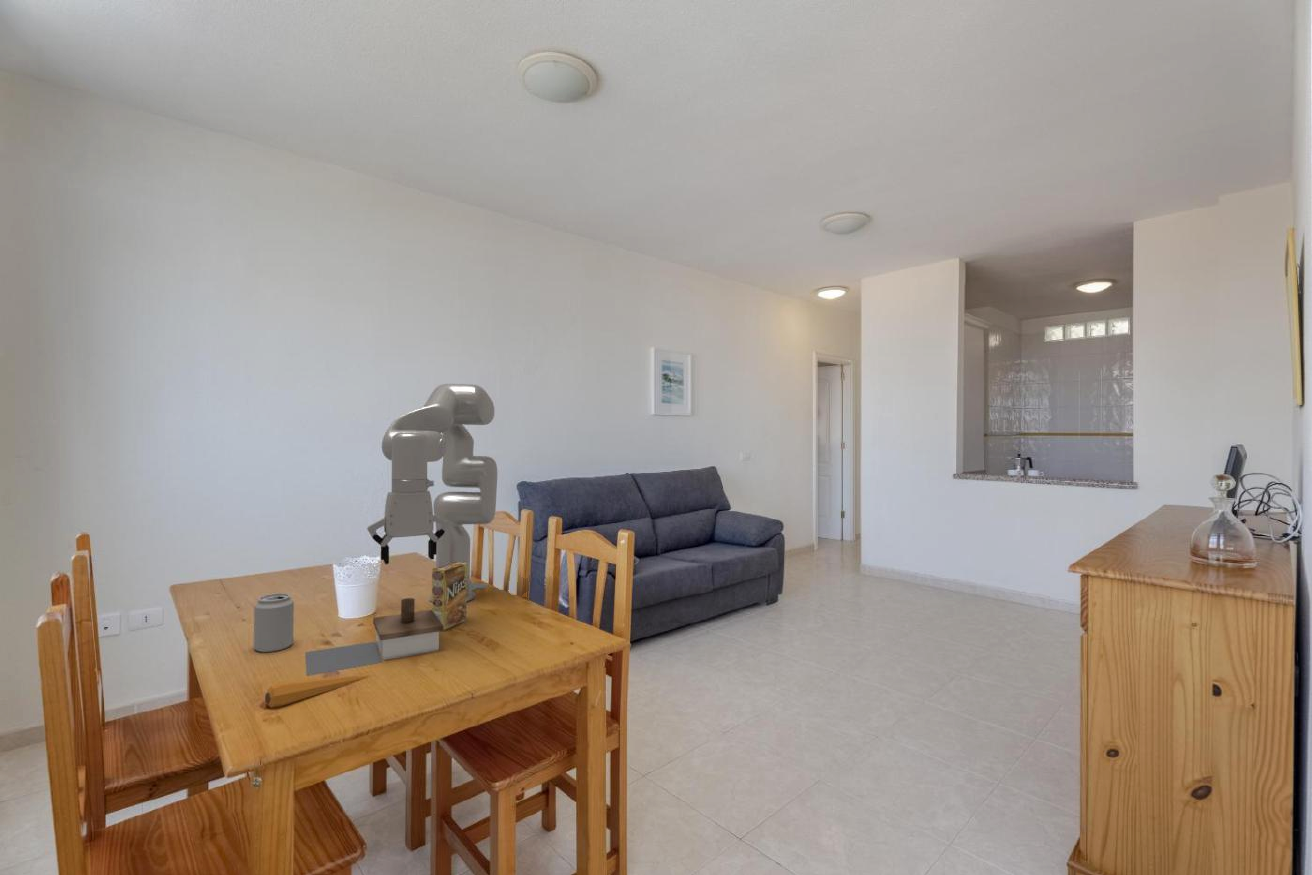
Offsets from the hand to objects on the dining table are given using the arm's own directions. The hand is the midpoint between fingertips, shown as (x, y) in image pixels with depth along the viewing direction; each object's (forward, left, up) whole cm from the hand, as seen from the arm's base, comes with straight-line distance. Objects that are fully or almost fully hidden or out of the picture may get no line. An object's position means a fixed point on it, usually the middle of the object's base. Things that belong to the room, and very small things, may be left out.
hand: (409, 560), depth 136 cm
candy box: (-12, -12, -20) cm, 26 cm away
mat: (+13, 0, -20) cm, 24 cm away
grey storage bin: (0, 0, -20) cm, 20 cm away
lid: (0, 0, -15) cm, 15 cm away
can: (+26, -14, -20) cm, 36 cm away
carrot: (+17, +16, -21) cm, 31 cm away
